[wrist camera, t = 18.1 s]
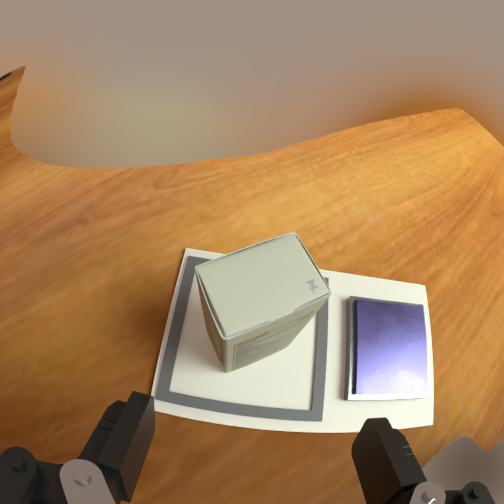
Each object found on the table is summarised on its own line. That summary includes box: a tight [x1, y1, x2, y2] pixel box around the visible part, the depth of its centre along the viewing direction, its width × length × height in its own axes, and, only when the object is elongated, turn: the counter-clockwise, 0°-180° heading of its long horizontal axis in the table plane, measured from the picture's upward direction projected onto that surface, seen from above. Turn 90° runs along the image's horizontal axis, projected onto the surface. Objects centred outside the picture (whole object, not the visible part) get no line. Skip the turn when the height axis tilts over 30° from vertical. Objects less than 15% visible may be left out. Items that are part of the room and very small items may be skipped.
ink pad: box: [344, 296, 429, 401], centre depth 25 cm, size 9×10×2 cm
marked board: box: [151, 248, 434, 433], centre depth 26 cm, size 27×16×1 cm, turn 83°
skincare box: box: [195, 232, 332, 373], centre depth 20 cm, size 6×4×12 cm
